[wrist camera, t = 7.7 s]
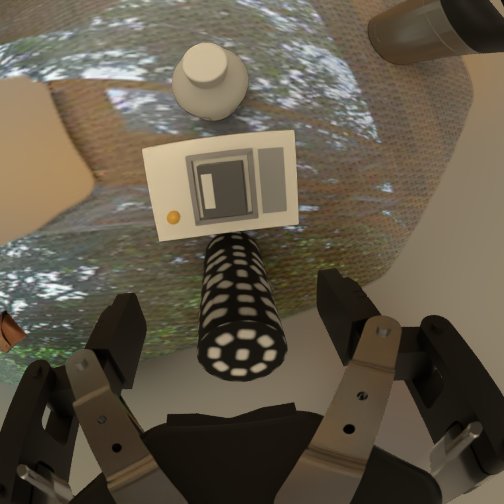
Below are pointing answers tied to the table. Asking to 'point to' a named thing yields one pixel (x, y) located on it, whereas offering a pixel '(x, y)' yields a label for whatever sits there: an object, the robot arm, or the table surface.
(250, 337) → the spotted tube
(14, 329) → the sunglasses case
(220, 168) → the rocker paddle
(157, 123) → the table surface
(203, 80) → the bath foam
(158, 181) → the switch box
